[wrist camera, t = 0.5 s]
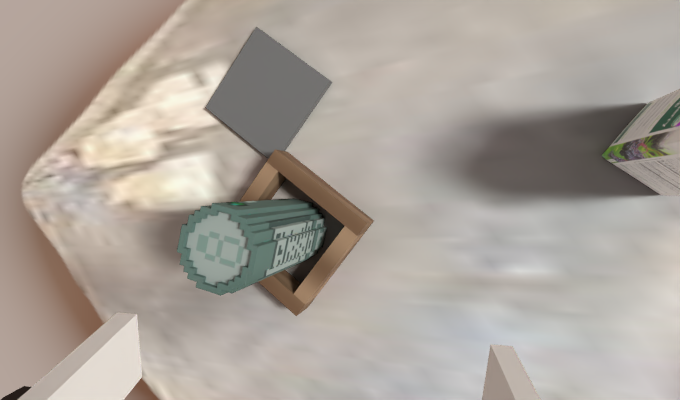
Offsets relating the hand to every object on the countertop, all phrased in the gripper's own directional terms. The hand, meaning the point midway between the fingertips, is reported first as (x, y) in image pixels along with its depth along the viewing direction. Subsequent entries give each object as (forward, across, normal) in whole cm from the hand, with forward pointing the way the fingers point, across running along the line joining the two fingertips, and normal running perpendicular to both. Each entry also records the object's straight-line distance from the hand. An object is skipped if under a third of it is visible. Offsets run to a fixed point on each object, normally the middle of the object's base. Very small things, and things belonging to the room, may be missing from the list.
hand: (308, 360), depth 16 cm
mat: (+31, -9, +8) cm, 34 cm away
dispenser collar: (+28, -5, -5) cm, 29 cm away
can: (+28, -5, -5) cm, 29 cm away
